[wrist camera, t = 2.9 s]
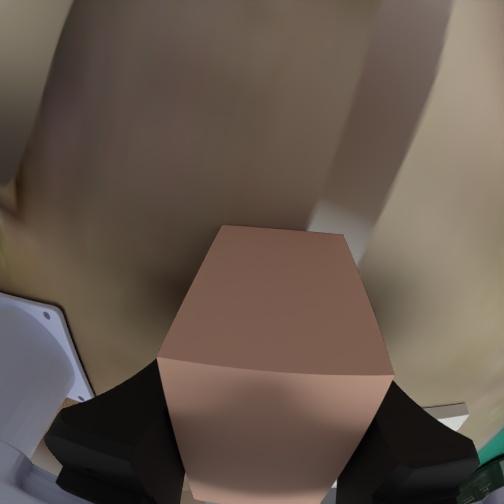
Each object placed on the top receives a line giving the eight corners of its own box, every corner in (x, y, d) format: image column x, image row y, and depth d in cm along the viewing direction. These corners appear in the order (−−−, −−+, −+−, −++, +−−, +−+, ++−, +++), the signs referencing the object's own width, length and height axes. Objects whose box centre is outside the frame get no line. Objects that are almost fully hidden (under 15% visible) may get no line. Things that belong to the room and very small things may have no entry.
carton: (223, 375, 15) (194, 499, 9) (222, 224, 12) (156, 356, 6) (315, 382, 15) (319, 509, 9) (347, 234, 12) (401, 374, 5)
